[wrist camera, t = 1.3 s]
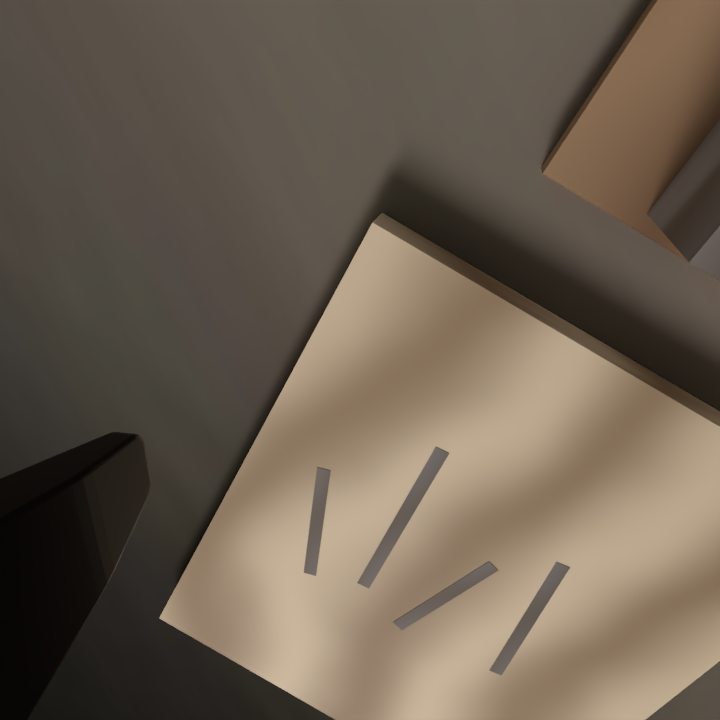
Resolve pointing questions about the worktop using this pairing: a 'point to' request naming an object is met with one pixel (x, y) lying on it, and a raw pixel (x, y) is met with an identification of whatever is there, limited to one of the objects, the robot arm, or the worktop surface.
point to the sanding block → (655, 133)
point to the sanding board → (465, 512)
